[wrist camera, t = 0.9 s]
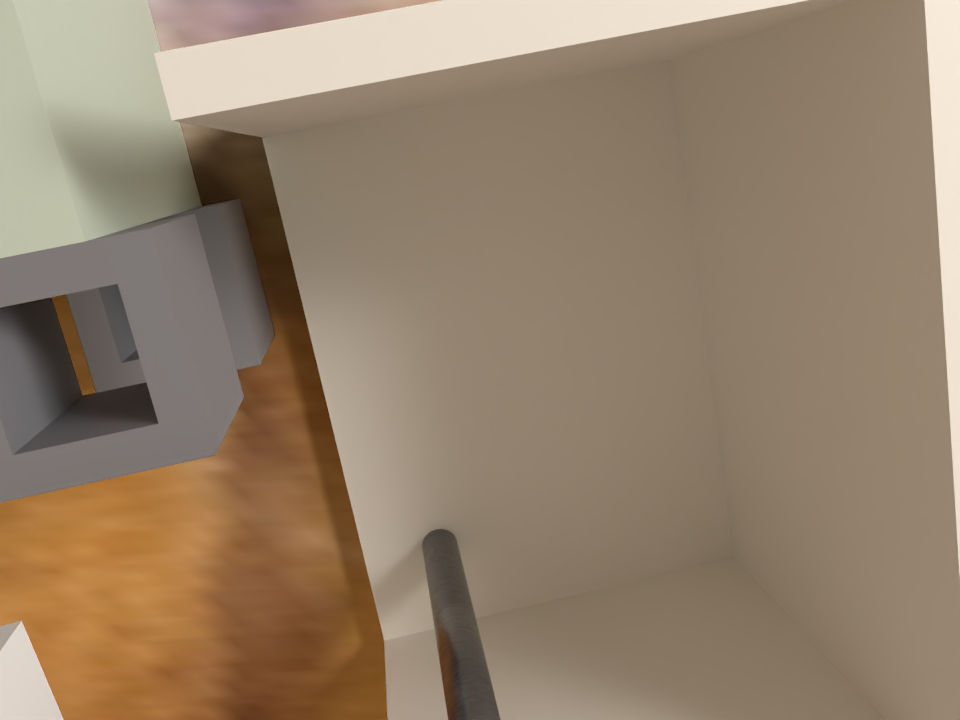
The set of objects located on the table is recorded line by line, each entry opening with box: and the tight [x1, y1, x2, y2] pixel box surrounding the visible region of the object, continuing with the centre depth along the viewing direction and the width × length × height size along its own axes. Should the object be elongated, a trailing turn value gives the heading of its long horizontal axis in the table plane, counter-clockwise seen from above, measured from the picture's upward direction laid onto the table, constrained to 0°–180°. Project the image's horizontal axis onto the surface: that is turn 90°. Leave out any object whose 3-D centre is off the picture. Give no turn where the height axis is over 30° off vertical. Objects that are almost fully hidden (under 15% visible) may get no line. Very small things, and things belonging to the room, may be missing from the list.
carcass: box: [154, 0, 960, 720], centre depth 27 cm, size 23×16×16 cm
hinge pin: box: [422, 529, 501, 720], centre depth 27 cm, size 1×1×17 cm
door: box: [0, 0, 275, 503], centre depth 24 cm, size 17×5×14 cm, turn 11°
